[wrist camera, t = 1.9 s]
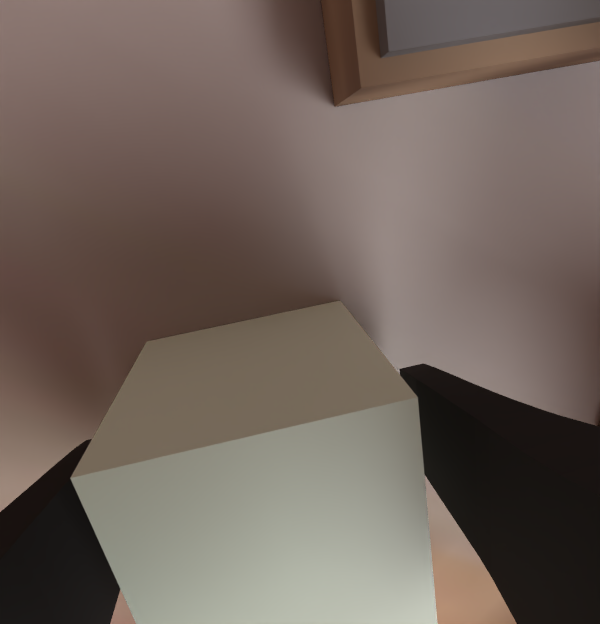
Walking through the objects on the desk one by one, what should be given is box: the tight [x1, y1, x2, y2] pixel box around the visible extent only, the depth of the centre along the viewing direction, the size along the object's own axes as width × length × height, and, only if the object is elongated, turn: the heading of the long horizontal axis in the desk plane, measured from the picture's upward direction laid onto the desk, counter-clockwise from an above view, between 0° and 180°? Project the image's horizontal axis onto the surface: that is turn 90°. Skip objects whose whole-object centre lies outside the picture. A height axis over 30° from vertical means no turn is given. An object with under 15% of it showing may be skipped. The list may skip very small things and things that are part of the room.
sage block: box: [70, 301, 437, 624], centre depth 9 cm, size 5×5×5 cm
